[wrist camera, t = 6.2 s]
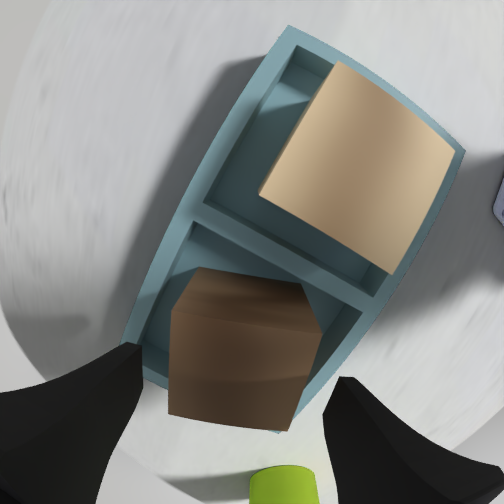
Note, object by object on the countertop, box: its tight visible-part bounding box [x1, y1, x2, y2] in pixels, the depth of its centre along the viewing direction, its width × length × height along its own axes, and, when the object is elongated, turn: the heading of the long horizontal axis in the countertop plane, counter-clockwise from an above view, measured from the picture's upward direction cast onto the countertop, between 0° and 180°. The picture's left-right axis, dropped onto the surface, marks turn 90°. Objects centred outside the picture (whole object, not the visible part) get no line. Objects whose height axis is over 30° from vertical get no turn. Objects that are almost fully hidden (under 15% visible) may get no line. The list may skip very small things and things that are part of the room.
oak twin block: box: [257, 61, 455, 275], centre depth 10 cm, size 5×5×5 cm
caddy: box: [119, 25, 465, 434], centre depth 13 cm, size 10×18×3 cm, turn 151°
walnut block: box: [168, 267, 322, 431], centre depth 12 cm, size 5×5×5 cm
